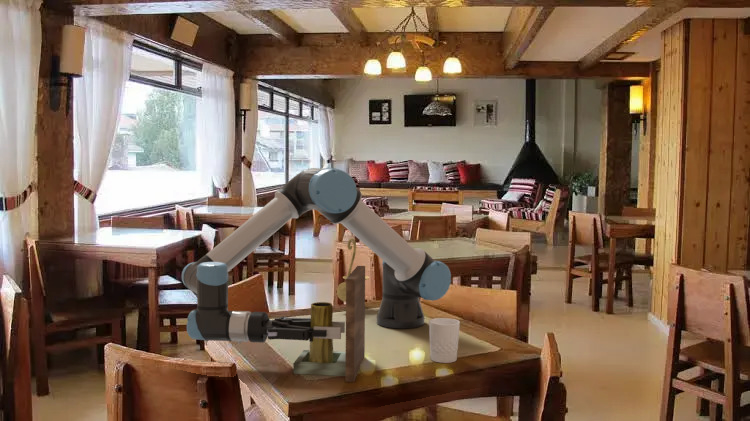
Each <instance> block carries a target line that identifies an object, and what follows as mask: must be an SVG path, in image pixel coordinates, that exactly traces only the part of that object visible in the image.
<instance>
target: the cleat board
mask: <svg viewBox="0 0 750 421" xmlns="http://www.w3.org/2000/svg"><path fill="white" fill-rule="evenodd" d="M365 276H366V265H357V266H356V267H355V268H354V269H353V270H352V271H351V274H350V275H349V276H348V277H347V278H346V280H345V282H346V302H345V351H338V350H337V351H334V350H333V359H334V361H333V362H332V363H318V362H309V352H310V349H303V350H302V352H301V353H300V354H299V356H298V357H297V358H296V360H295V361H294V362H293V364H292V366H293V368H292V369H293V373H292V374H294V375H298V374H299V375H311V376H312V375H317V376H318V375H319V376H335V377H336V376H338V377H339V376H340V377H344V378H345V383H355V381H356V378H357V376H358V374H359V371H360V369H361V366H362V364H363V362H364V359H365V354H366V352H365V351H366V350H365V348H366V347H365V346H366V345H365V343H366V342H365V341H366V340H365V339H366V337H365V335H366V334H365V333H366V332H365V331H366V330H365V329H366V328H365V327H366V324H365V323H366V280H365Z"/></svg>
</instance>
